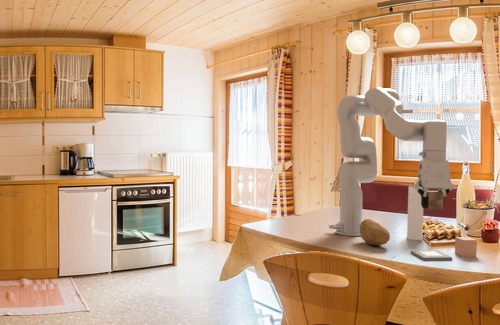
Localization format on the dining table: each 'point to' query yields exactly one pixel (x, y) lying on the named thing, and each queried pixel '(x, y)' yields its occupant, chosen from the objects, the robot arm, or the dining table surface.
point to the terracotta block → (465, 246)
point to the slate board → (430, 255)
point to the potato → (373, 233)
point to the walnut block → (435, 200)
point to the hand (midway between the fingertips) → (432, 207)
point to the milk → (414, 215)
